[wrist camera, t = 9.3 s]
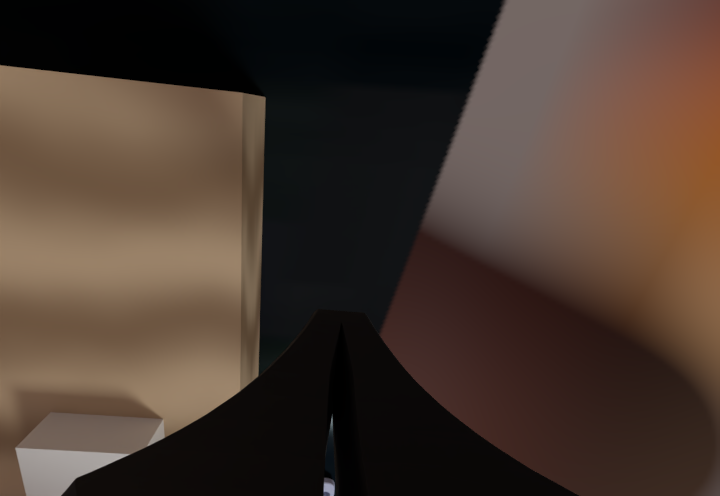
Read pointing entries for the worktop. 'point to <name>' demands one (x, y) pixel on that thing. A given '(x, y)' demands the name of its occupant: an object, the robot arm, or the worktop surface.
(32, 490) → the pale grey tile
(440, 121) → the worktop surface
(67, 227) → the oak deck
